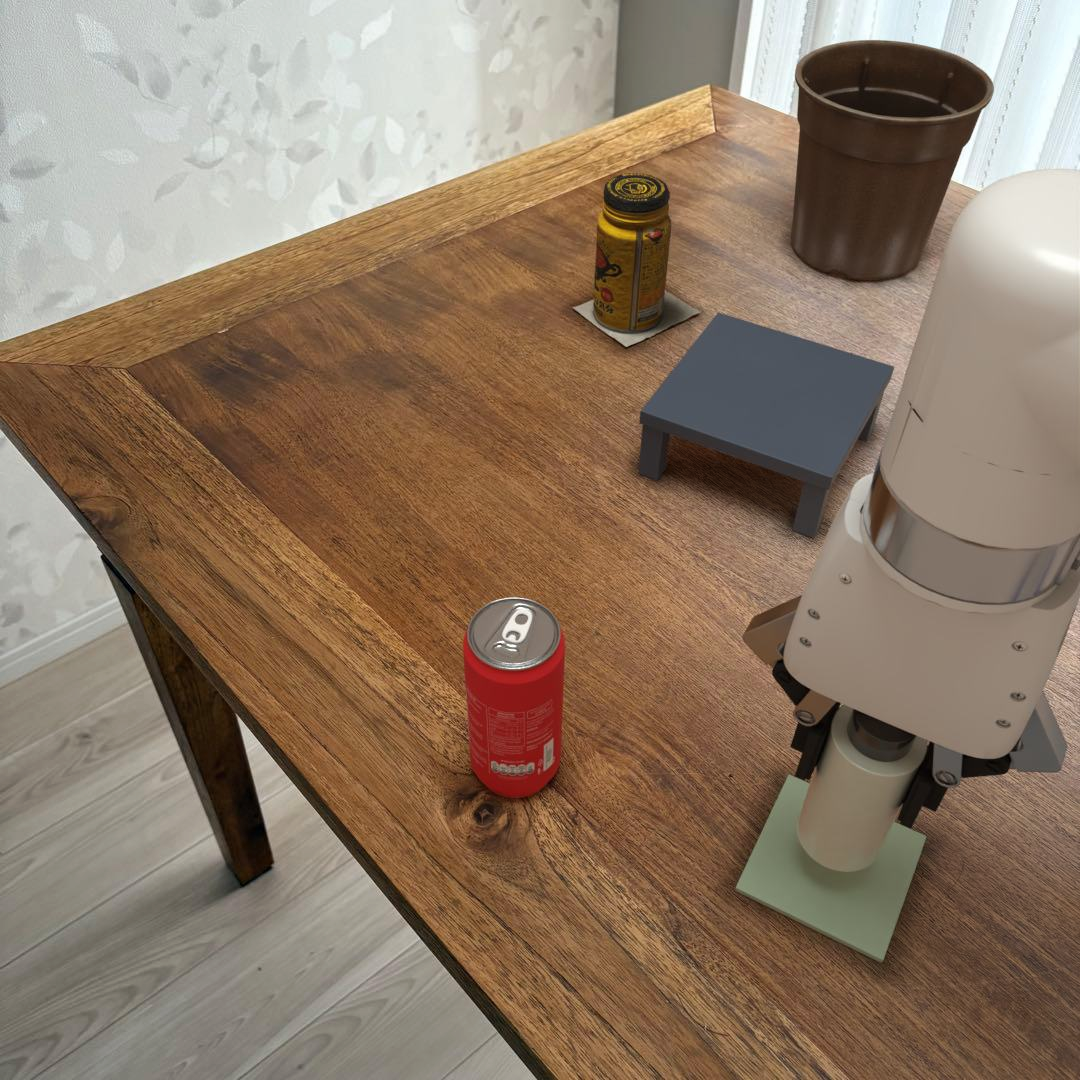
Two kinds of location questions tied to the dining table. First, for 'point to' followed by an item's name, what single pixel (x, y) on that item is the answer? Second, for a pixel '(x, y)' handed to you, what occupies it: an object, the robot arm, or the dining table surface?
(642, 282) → the condiment
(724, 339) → the grey miniature table
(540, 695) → the beverage can
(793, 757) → the dining table surface
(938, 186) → the plant pot
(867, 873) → the coaster
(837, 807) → the spice bottle
